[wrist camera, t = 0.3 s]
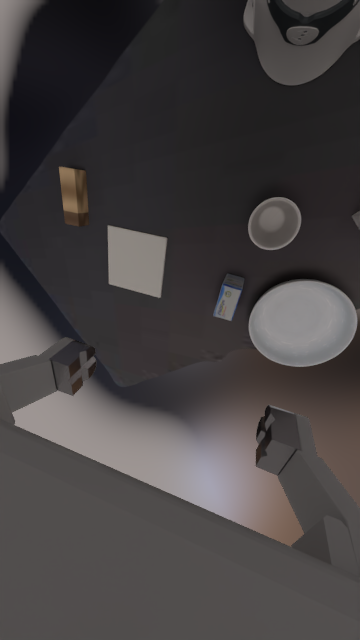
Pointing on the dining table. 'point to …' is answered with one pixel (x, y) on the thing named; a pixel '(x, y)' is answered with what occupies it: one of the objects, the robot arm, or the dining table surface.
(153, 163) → the dining table surface
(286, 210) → the dixie cup
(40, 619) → the robot arm
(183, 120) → the dining table surface
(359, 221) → the milk
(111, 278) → the mat
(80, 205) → the wooden block
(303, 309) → the serving bowl
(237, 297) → the medicine box
